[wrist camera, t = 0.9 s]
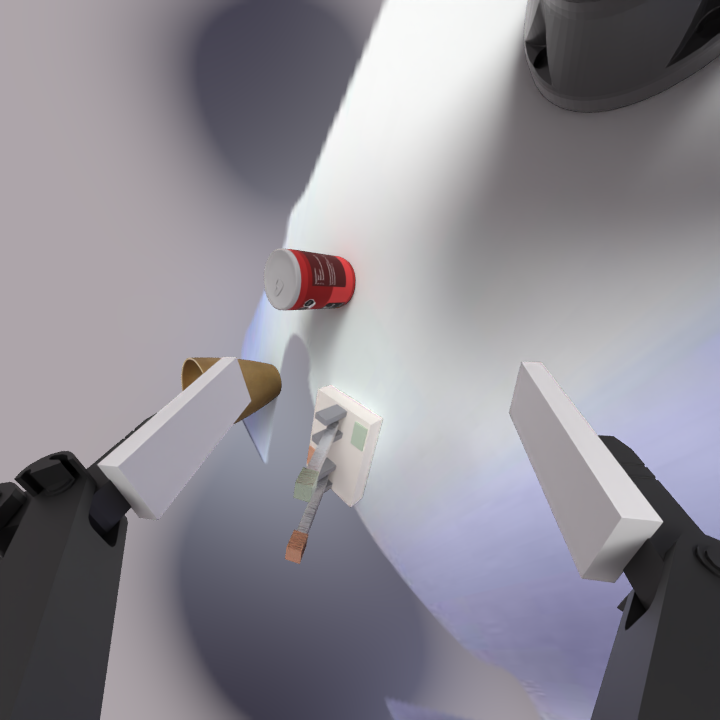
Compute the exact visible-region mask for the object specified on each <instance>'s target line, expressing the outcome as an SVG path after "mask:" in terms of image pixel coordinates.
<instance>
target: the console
mask: <svg viewBox="0 0 720 720" xmlns="http://www.w3.org/2000/svg"><path fill="white" fill-rule="evenodd" d="M338 420H339V421H338ZM335 421H338V422H339V425H338V430H337V433H336V435H335V438H334V440H333V442H332V445H331V447H330V449H329V452H328V454H327V456H326V459H325V461H324V463H323V466H322V468H321V470H320V473H319V476H318V480H320V479H321V478H323V477H325V476H326V475H329V477H328V482H327V485H326V488H325V490H324V493H325V492H326V491H327V490H329V489H332V490H333V491H334V492H335V493H336V494H337V495H338V496H339V497H340V498H341V499H342V500H343V501H344V502H345V503H346V504H347V505H348V506H349V507H352V506H353V505H354V504H356V503H357V502H358V501H359V500H361V499H362V497H363V493H364V489H365V485H366V482H367V478H368V474H369V470H370V466H371V463H372V459H373V455H374V451H375V447H376V443H377V440H378V436H379V432H380V428H381V424H382V421H383V418H382V417H380V416H378V415H377V414H375V413H374V412H372V411H371V410H369V409H368V408H366V407H365V406H363V405H361V404H360V403H358V402H357V401H355V400H354V399H352V398H351V397H349V396H348V395H346V394H344V393H343V392H341V391H340V390H338V389H337V388H335V387H334V386H332V385H329V386H325V387H322V388H319V389H318V392H317V399H316V406H315V412H314V420H313V425H312V432H311V439H310V445H309V452H308V458H307V466H308V464H309V462H310V460H311V458H312V456H313V454H314V452H315V450H316V448H317V446H318V444H319V442H320V440H321V438H322V436H323V434H324V432H325V430H326V427H327V425H329V424H331V423H333V422H335Z"/></svg>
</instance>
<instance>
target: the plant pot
mask: <svg viewBox="0 0 720 720" xmlns="http://www.w3.org/2000/svg"><path fill="white" fill-rule="evenodd" d="M220 359H221V358H187V359H186V360H185V361H184V363H183V367H182V374H181V375H182V376H181V380H182V390H183V391H184V390H185V389H186V388H187V387H188V386H190V385H191V384H192V383H193V382H194V381H195V380H197V379H198V378H199V377H200V376H201V375H202V374H204V373H205V372H206V371H207V370H208V369H209V368H211V367H212V366H213V365H214V364H215V363H216V362H218V361H219V360H220ZM237 360H238V363H239V366H240V369H241V372H242V375H243V378H244V381H245V383H246V386H247V389H248V392H249V395H250V398H251V402H250V403H249V404H248V406H247V407H246V408H245V410H244V411H243V412H242V413H241V415H240V416H239V417H238V419H237V420H236V421H235V422H234V424H235V423H237V422H239V421H240V420H242V419H244V418H246V417H248V416H249V415H251V414H253V413H254V412H256V411H257V410H259V409H260V408H262V407H263V406H265V405H266V404H268V403H269V402H270V401H272V400H273V399H274V398H275V397H277V396H278V395H279V394H280V391H281V378H280V374H279V372H278V370H277V369H276V368H275V367H274V366H273V365H271V364H266V363H261V362H256V361H250V360H242V359H237Z"/></svg>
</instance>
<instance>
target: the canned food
mask: <svg viewBox="0 0 720 720" xmlns="http://www.w3.org/2000/svg"><path fill="white" fill-rule="evenodd" d="M264 286H265V292H266V295H267V298H268V300H269V302H270V303H271V305H272V306H273V307H274V308H276V309H278V310H306V309H327V308H338V307H341V306H343V305H345V304H346V303H347V302H348V301H349V300H350V299H351V297H352V295H353V293H354V289H355V273H354V270H353V268H352V266H351V265H350V263H349V262H348V261H346V260H345V259H343V258H341V257H338V256H331V255H325V254H318V253H312V252H305V251H299V250H292V249H280V248H279V249H276V250H274V251H273V252H272V253H271V254H270V256H269V257H268V259H267V262H266V265H265V270H264Z"/></svg>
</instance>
